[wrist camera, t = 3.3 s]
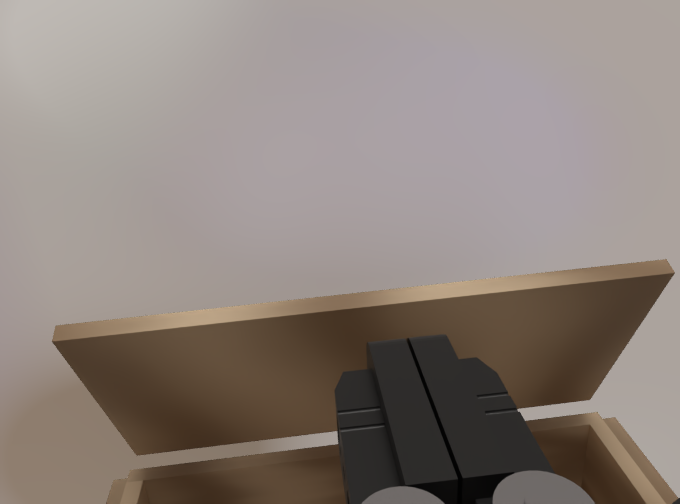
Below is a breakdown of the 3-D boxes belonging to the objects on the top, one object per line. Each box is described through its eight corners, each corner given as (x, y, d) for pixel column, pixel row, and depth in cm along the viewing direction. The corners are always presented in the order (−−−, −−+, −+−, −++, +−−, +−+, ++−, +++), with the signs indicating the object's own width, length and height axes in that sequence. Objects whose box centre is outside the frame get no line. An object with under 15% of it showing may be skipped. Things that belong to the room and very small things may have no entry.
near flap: (590, 399, 23) (584, 388, 23) (674, 272, 17) (666, 259, 17) (136, 455, 22) (138, 442, 22) (51, 341, 16) (55, 325, 16)
